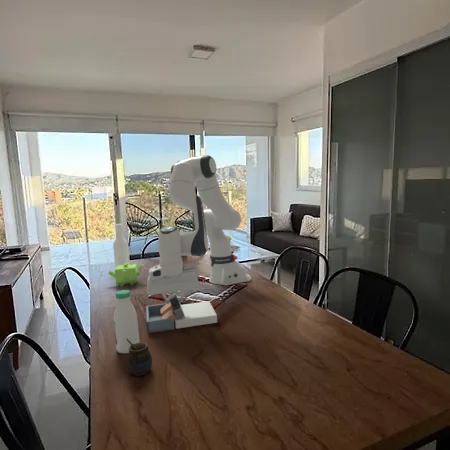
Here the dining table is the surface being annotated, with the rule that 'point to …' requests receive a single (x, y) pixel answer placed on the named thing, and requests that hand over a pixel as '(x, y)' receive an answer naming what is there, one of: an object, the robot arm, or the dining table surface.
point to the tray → (157, 319)
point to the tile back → (166, 308)
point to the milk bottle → (125, 322)
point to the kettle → (126, 274)
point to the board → (196, 315)
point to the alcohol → (120, 247)
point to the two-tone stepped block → (176, 306)
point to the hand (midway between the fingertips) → (174, 302)
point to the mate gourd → (139, 358)
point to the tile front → (169, 315)
